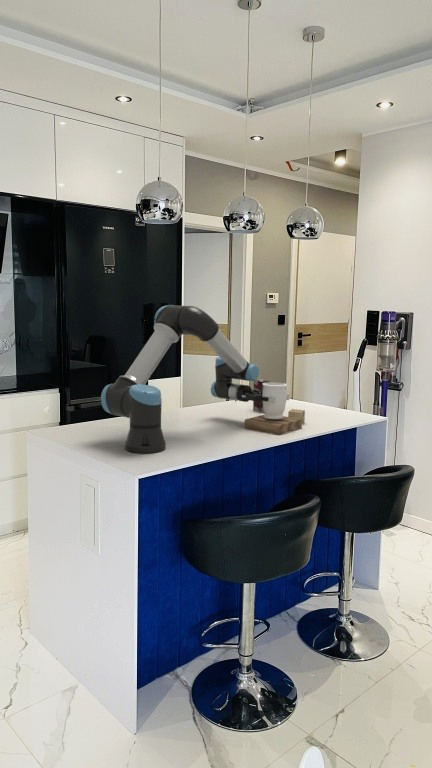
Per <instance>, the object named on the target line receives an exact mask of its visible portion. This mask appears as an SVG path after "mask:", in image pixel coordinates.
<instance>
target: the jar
mask: <svg viewBox="0 0 432 768" xmlns="http://www.w3.org/2000/svg"><path fill="white" fill-rule="evenodd" d="M287 386H288V384H287V383H284V382H278V381H277V382H275V381H274V382H273V381H272V382H268V383H263V387H264V389H263V393H262V395H266V396H273V397H276V403H268V402H263V409H264V412H265V413H264V414H263V415H264V417H265V418H267V419H282V418H283V416H284V415H283V414H284V412H285V411H286V403H287V401H288V400H287V394H288V393H287V389H286V388H287Z"/></svg>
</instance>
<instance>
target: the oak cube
mask: <svg viewBox="0 0 432 768" xmlns="http://www.w3.org/2000/svg"><path fill="white" fill-rule="evenodd" d="M305 415H306V411H305V409H297V408H296V409H295V408H291V409H290V410H288V415H287V417H291V418H297V419H302V425H304V424H305V423H306V422H305V419H306V416H305ZM303 423H304V424H303Z"/></svg>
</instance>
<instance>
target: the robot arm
mask: <svg viewBox="0 0 432 768" xmlns="http://www.w3.org/2000/svg"><path fill="white" fill-rule="evenodd" d="M153 318H154V320H153V323H154V325H153V330H154V331H153V333H152V335H150V337H149V339H148V340H147V342H146V343H145V345H144V346H143V348H142V349H141V351H140V352H139V353H138V355H137V356H136V358H135V360H134V361H133V363H132V364H131V365H130V367H129V368H128V370H127V371H126V373H125V374H124V375H119V377H118V378H117V379H116V381H115V382H114V383H110V384H107V385H105V386H104V388H103V389H102V392H101V395H100V400H101V403H100V404H101V406H102V409H103V410H104V411H105V412H106V413H109V414H110V415H113V416H114V417H115V416H116V417H117V416H119V417H123V418H128V419H129V430H128V433H127V437H126V440H125V441H124V449H125V451H127V452H130V453H133V454H135V453H136V454H153V453H159V452H163V451H165V450H166V448H167V447H166V445H167V444H166V440H165V437H164V434H163V429H162V402H163V401H162V392H161V390H160V389H159V388H158V387H156V386H153V385H150V384H149V385H148V384H147V382H148V381H149V379H150V378H151V375H153V373H154V372H155V370H156V368H157V367H158V366H159V364H160V362H161V360H162V359H163V358H164V356H165V354H166V353H167V351H168V350H169V348H170V347H171V345H172V344H174V343H175V344H176V343H177V342H178V341H179V340H180V338H181V337H182V336H183V335H190V336H193V337H196V338H198V339H199V341H201V342H204V343H206V344H207V345H208V346H209V347H210V348H211V350H213V351H214V353H216V355H217V356H218V357H216V358H215V366H214V369H215V381H214V382H212V383H211V385H210V386H211V387H210V393H211V395H212V396H213V397H214V398H218V399H225V400H231V401H234V402H238V401H239V402H244V403H248V402H250V401H251V402H253V401H255V402H258V401H259V403H262V402H268V403H276V397H273V396H266V395H262V393H263V390H254V389H253V388H252V387H251V386H250V385H247V384H242V383H241V384H240V383H233V379H234V380H239V381H240V380H241V381H245V382H248V381H249V382H254V381H255V380H256V379H259V375H260V369H259V366H258V365H257V364H254V363H249V362H248V361H247V360H246V358H245V357H244V356H243V355H242V354H241V352H240V351H239V350H238V349H237V348H236V346H234V344H233V343H232V342H231V341H230V340H229V338H227V337H226V336H225V335H224V333H223V332H222V331H221V330H220V326H219V324H218V323H217V322H216V321H215V319H213V317H211V316H210V315H209V314H208V313H207V312H205V311H204V310H203V309H201V308H199V307H198V306H193V305H177V304H176V305H174V304H167V305H164V306H161V307H160V308H159V309H158V310H157V311H156V312H155V315H154V317H153ZM286 401H290V393H287V400H286Z"/></svg>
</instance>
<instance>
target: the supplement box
mask: <svg viewBox="0 0 432 768" xmlns="http://www.w3.org/2000/svg"><path fill="white" fill-rule="evenodd" d="M268 382H270V381H269V380H266V379H263V378H257V379H256V380H255V381H253V390H263V389H264V387H263V383H268ZM252 402H253V404H252V410H253V411H254V412H257V413H260V414H265V412H264V409H263V402H262V403H259V401H258V402H255V401H252Z"/></svg>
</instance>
